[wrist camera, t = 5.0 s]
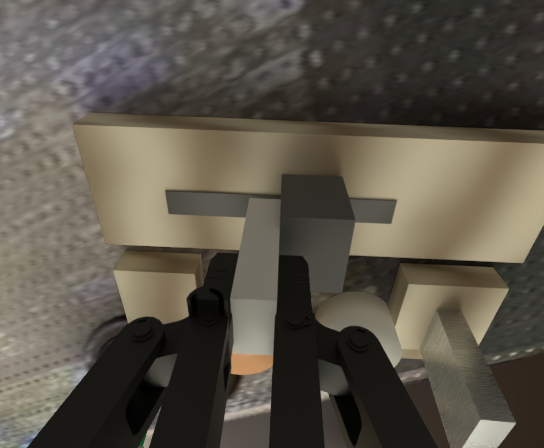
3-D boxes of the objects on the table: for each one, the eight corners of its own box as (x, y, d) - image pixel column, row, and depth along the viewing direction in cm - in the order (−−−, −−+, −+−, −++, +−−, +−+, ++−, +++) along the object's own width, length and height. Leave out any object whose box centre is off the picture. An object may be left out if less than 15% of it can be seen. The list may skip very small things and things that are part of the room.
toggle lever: (419, 349, 25) (454, 459, 19) (435, 308, 22) (480, 419, 17) (443, 351, 25) (485, 463, 19) (461, 310, 22) (516, 423, 16)
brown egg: (209, 336, 24) (201, 372, 22) (204, 284, 22) (194, 319, 19) (279, 339, 24) (278, 376, 22) (282, 287, 22) (282, 323, 19)
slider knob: (278, 239, 20) (276, 290, 16) (281, 174, 17) (280, 216, 14) (332, 242, 20) (341, 293, 16) (342, 176, 17) (355, 220, 14)
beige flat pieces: (143, 323, 27) (133, 345, 25) (91, 112, 18) (70, 125, 17) (458, 338, 27) (470, 362, 25) (558, 131, 18) (587, 146, 16)
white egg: (311, 341, 24) (314, 378, 22) (318, 289, 22) (322, 325, 19) (381, 344, 24) (391, 382, 22) (397, 293, 21) (411, 330, 19)
